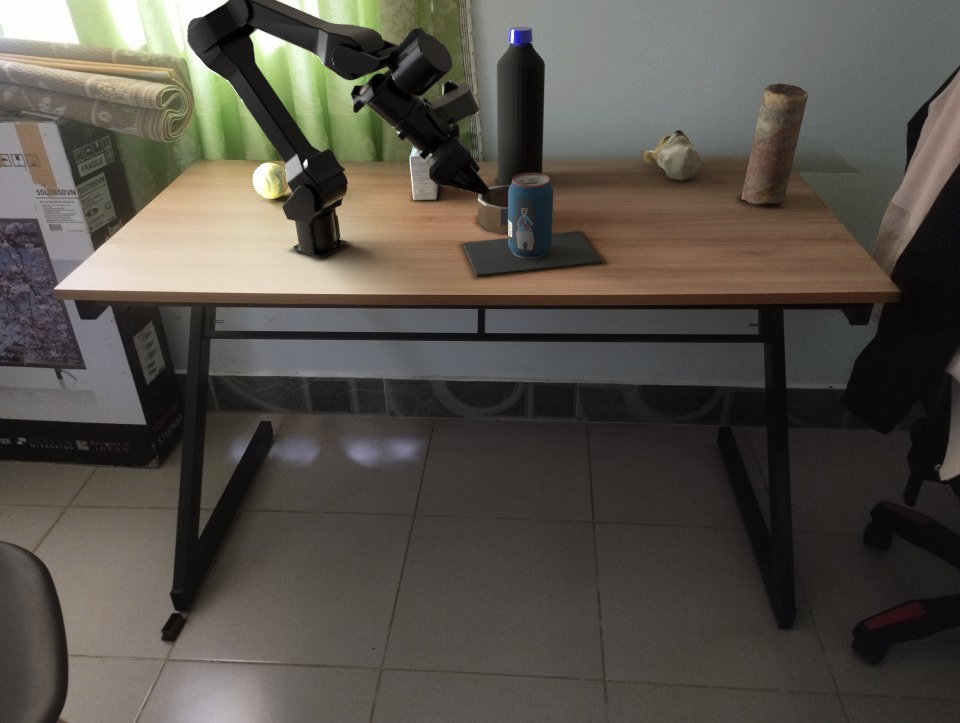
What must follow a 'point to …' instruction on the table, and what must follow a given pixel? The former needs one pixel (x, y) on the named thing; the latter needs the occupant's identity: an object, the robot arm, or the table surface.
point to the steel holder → (494, 209)
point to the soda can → (530, 215)
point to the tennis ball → (270, 180)
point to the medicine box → (421, 178)
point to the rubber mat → (501, 260)
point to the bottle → (520, 107)
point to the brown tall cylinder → (774, 144)
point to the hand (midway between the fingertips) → (482, 181)
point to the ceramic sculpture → (675, 156)
